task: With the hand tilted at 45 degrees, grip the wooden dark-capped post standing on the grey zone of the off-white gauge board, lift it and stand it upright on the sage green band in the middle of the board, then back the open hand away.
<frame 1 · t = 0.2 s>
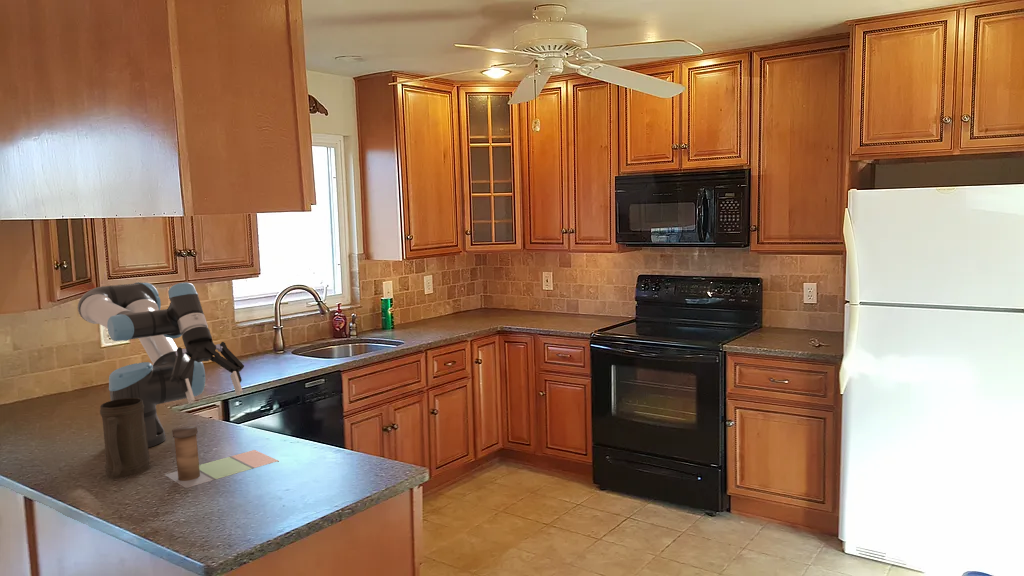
hand: (216, 397, 202), 16 cm above the worktop, tool tilted 35°, fingers open, 13 cm apart
wooden dark-capped post: (189, 477, 180), point 1 cm above the worktop, touching gauge board
beer stein: (127, 479, 185), on the worktop
gauge board: (223, 472, 186), on the worktop
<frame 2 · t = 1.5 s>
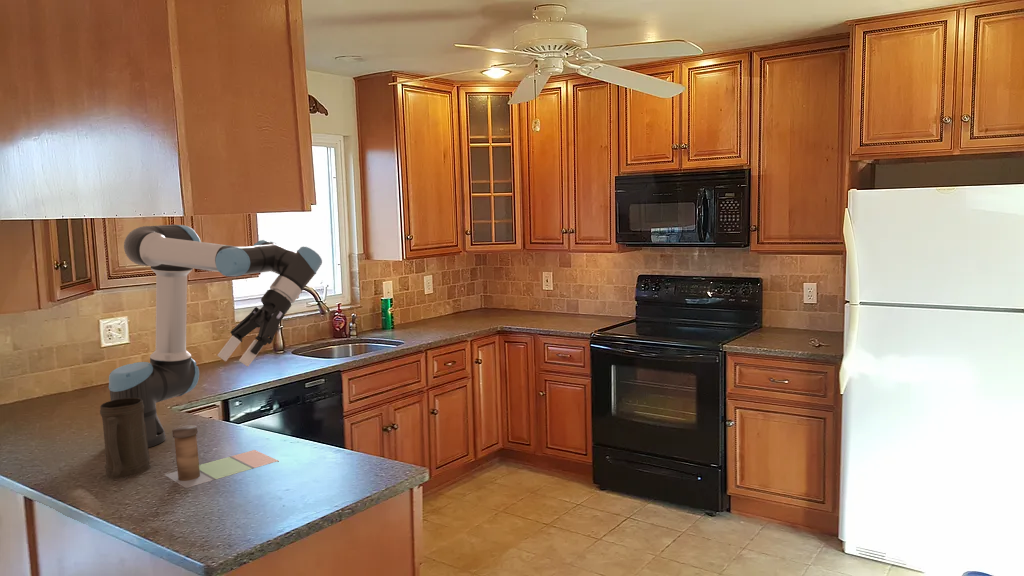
hand: (232, 361, 187), 29 cm above the worktop, tool tilted 45°, fingers open, 13 cm apart
nothing on the worktop moved.
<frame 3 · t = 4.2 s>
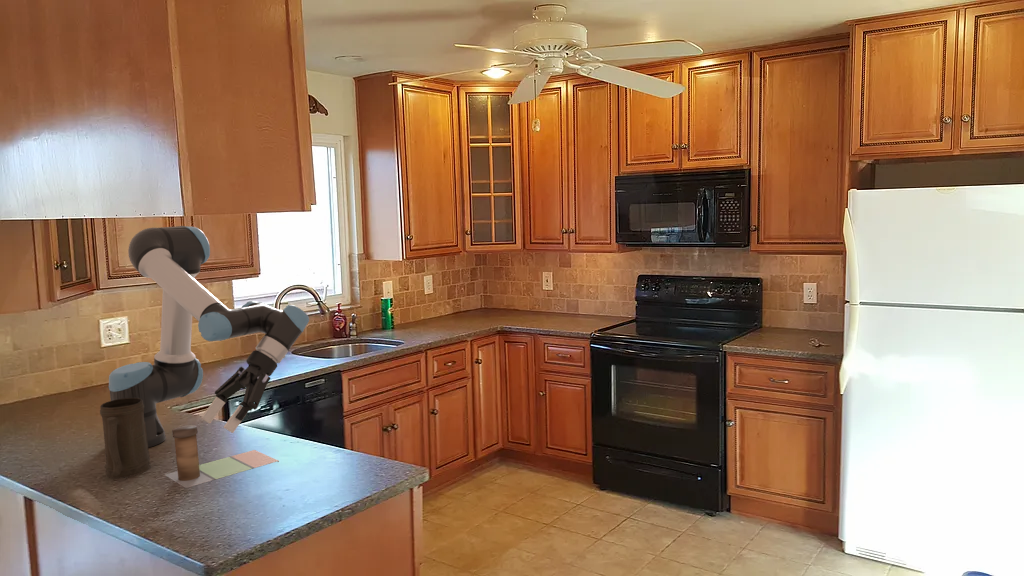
hand: (216, 425, 183), 13 cm above the worktop, tool tilted 45°, fingers open, 13 cm apart
nothing on the worktop moved.
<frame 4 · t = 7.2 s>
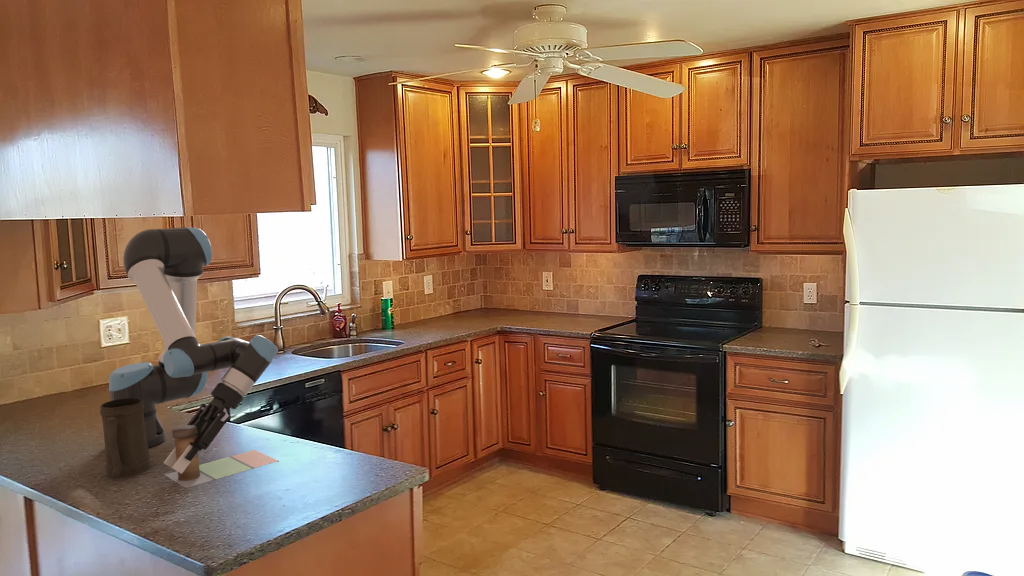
hand: (172, 468, 177), 5 cm above the worktop, tool tilted 45°, fingers closed on wooden dark-capped post, 5 cm apart
wooden dark-capped post: (189, 477, 180), point 1 cm above the worktop, touching gauge board, gripper
everything else where it was.
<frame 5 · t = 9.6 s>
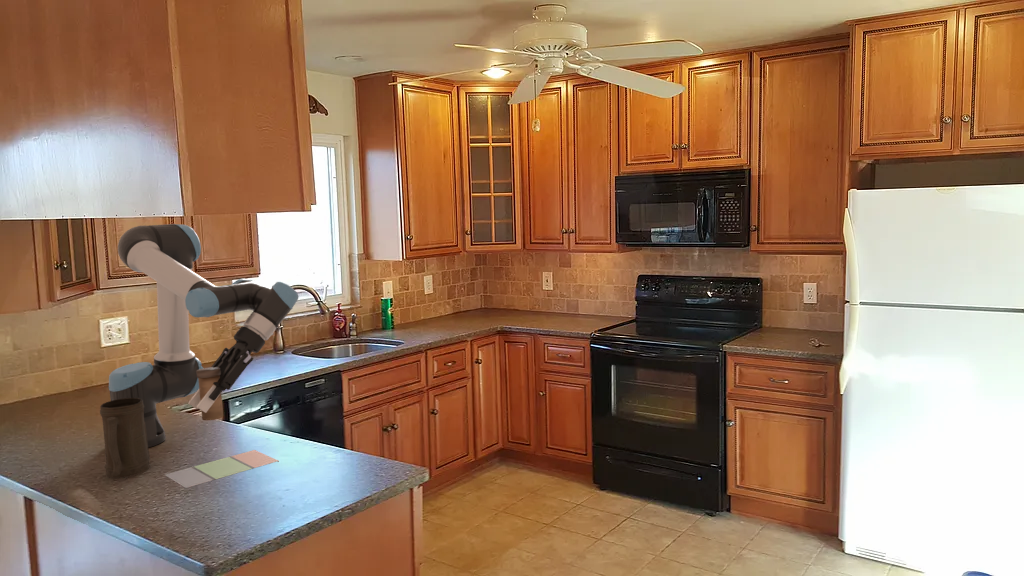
hand: (196, 407, 181), 18 cm above the worktop, tool tilted 45°, fingers closed on wooden dark-capped post, 5 cm apart
wooden dark-capped post: (212, 417, 184), point 15 cm above the worktop, touching gripper
everything else where it was.
when the fingers open (6 cm above the worktop, at t = 12.3 s): wooden dark-capped post drops 1 cm, resting on gauge board.
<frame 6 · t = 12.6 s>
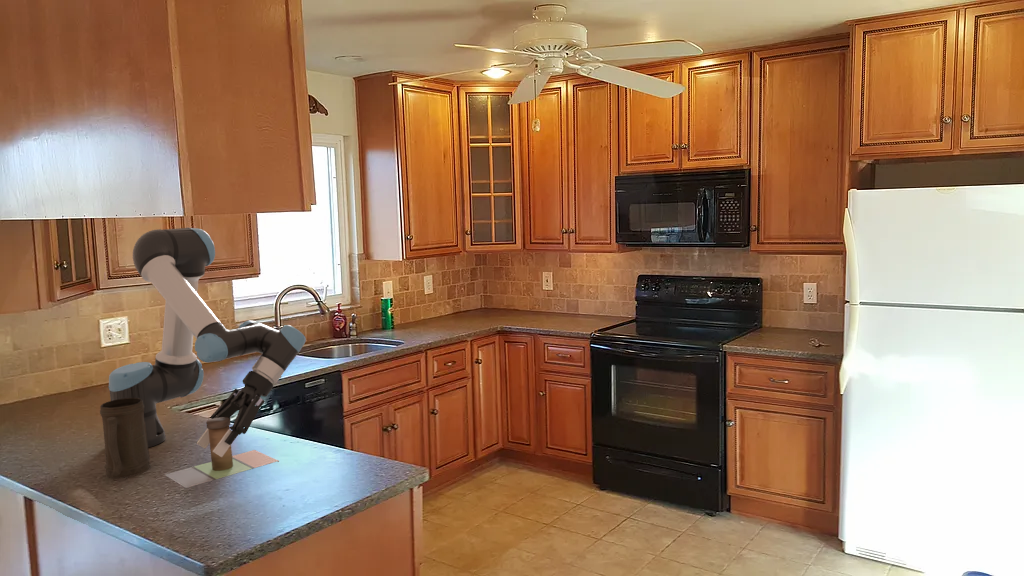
hand: (208, 450, 183), 7 cm above the worktop, tool tilted 45°, fingers open, 9 cm apart
wooden dark-capped post: (222, 467, 186), point 1 cm above the worktop, touching gauge board
everything else where it was.
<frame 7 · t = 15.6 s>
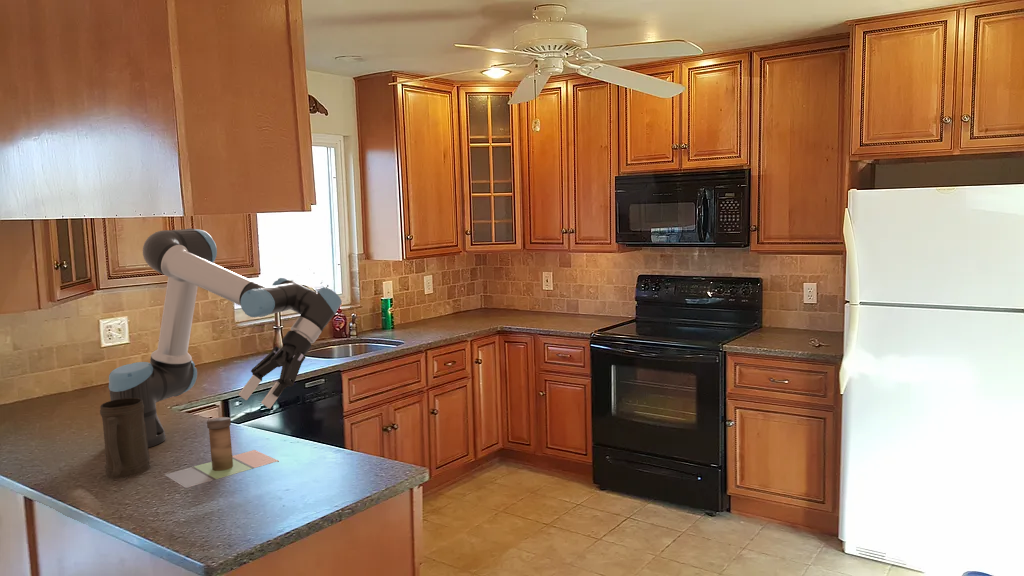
hand: (253, 401, 191), 17 cm above the worktop, tool tilted 45°, fingers open, 13 cm apart
nothing on the worktop moved.
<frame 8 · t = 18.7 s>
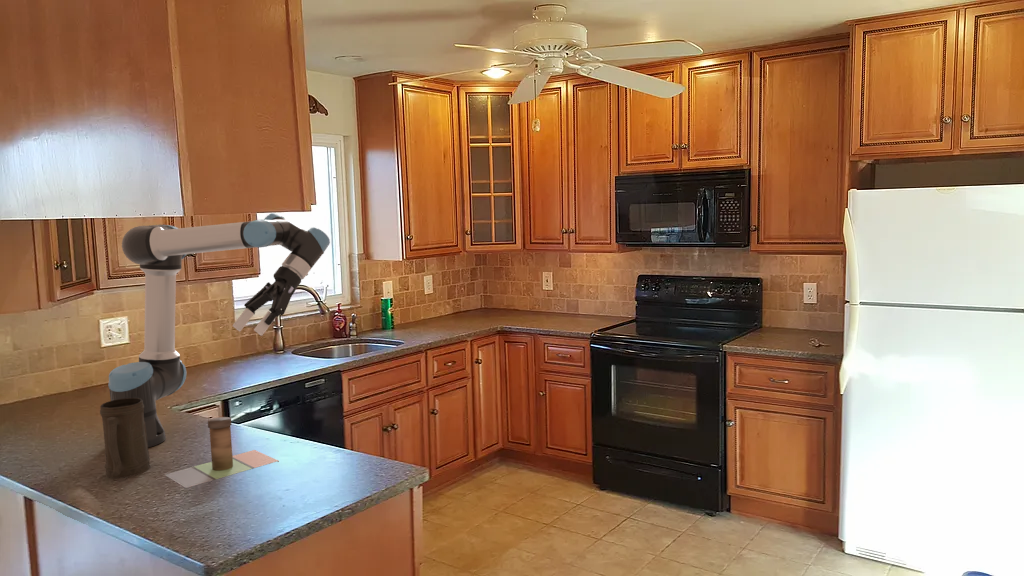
hand: (246, 330, 204), 34 cm above the worktop, tool tilted 45°, fingers open, 13 cm apart
nothing on the worktop moved.
at the end: wooden dark-capped post inside the target area on the gauge board (0.0 cm from its centre), point 1.5 cm above the gauge board's base; wooden dark-capped post tilted 1°; the gripper is holding nothing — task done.
